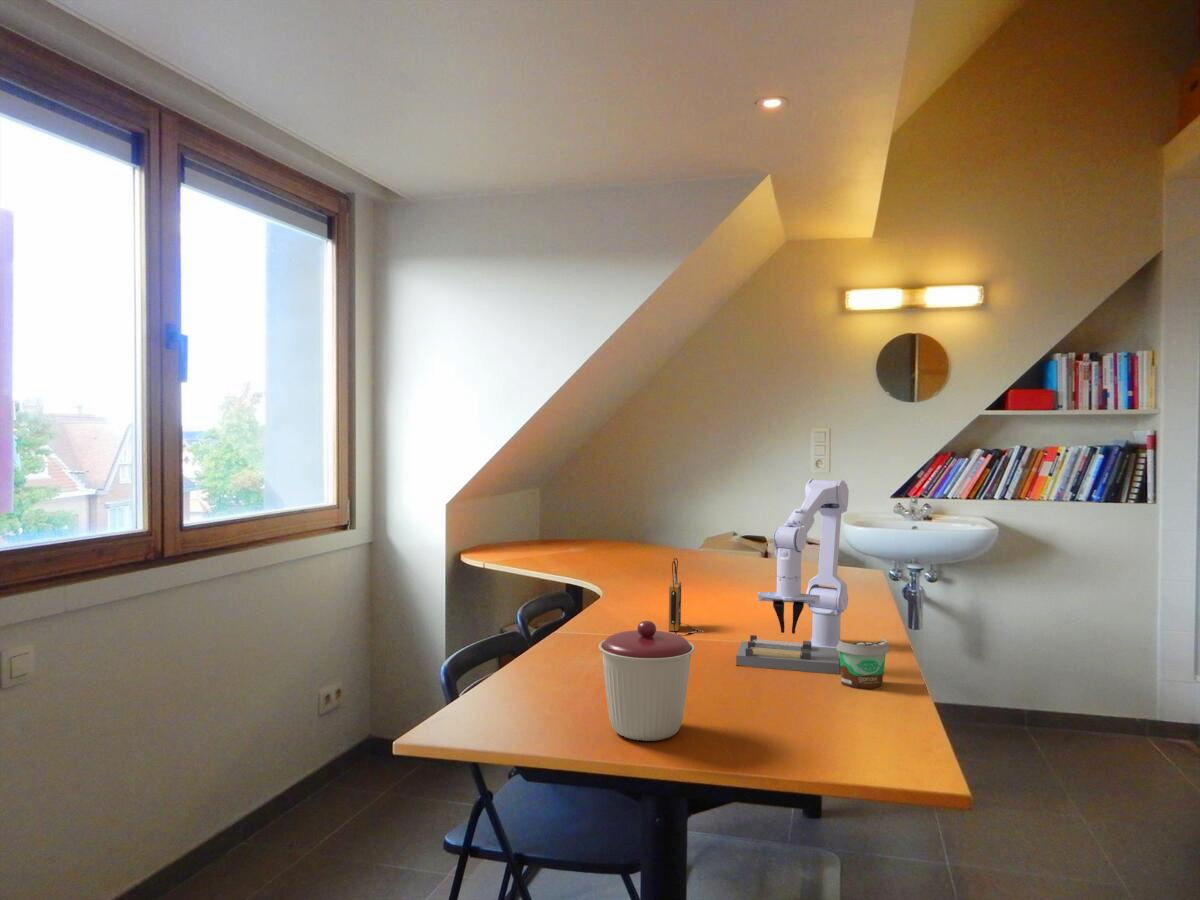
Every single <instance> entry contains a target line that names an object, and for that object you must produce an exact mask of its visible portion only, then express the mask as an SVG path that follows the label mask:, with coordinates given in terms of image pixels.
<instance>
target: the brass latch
mask: <svg viewBox="0 0 1200 900" xmlns="http://www.w3.org/2000/svg"><path fill="white" fill-rule="evenodd" d="M750 648H753V655H758V656H769V657H781V658H792V659H800V656H801V651H792V650H780V649H768V648H757V647H750Z"/></svg>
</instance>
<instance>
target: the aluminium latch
mask: <svg viewBox="0 0 1200 900" xmlns="http://www.w3.org/2000/svg"><path fill="white" fill-rule="evenodd" d="M753 641H754V642H755V647H765V648H777V649H788V650H801V647H802V646H803V642H795V641H794V642H793V641H792V642H791V641H783V640H782V641H781V640H769V639H758V638H757V639H753Z"/></svg>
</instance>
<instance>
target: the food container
mask: <svg viewBox="0 0 1200 900" xmlns="http://www.w3.org/2000/svg"><path fill="white" fill-rule="evenodd" d="M841 641H842V640H841ZM841 641H839V644H837V649H836V650H838V651H839V670H840V677H841V678H840V679H841V681H840V682H841V685H842V686H844V687H848V688H849V689H857V690H867V691H871V690H872V691H873V690H877V689H880V688H882V686H883V682H884V681H883V680H884V672H885V671H884V670H885V664H886V656H887V655H886V654H888V653H889V652H890V648H889V644H888V641H887V639H886V638H884V637H882V638H881V641H873V642H871V641H857V642H853V643H848V642H843V641H842V642H841Z"/></svg>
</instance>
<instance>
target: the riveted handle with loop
mask: <svg viewBox="0 0 1200 900" xmlns="http://www.w3.org/2000/svg"><path fill="white" fill-rule="evenodd" d="M671 564H672V565H671V571H672V572H671V574H672V581H671V583H670V584H669V585H668V632H674V631H678V630H680V628H681V626H682V624H681V623H682V621H681V619H682V581H678V566H679V560H678V558H677V557H676V558H673V561H671ZM690 628H692V629H691V630H693V629H695V630H694V631H690V632H687V633H686V634H688V633H693V634H694V632H695V633H697V631H696V630H698V632H701V631H702V632H701V633H704V631H703V630H701V629H699V628H695V627H690V626H689V628H688V629H690ZM678 632H679V631H678ZM674 634H676V635H677V634H678V633H677V632H674Z"/></svg>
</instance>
